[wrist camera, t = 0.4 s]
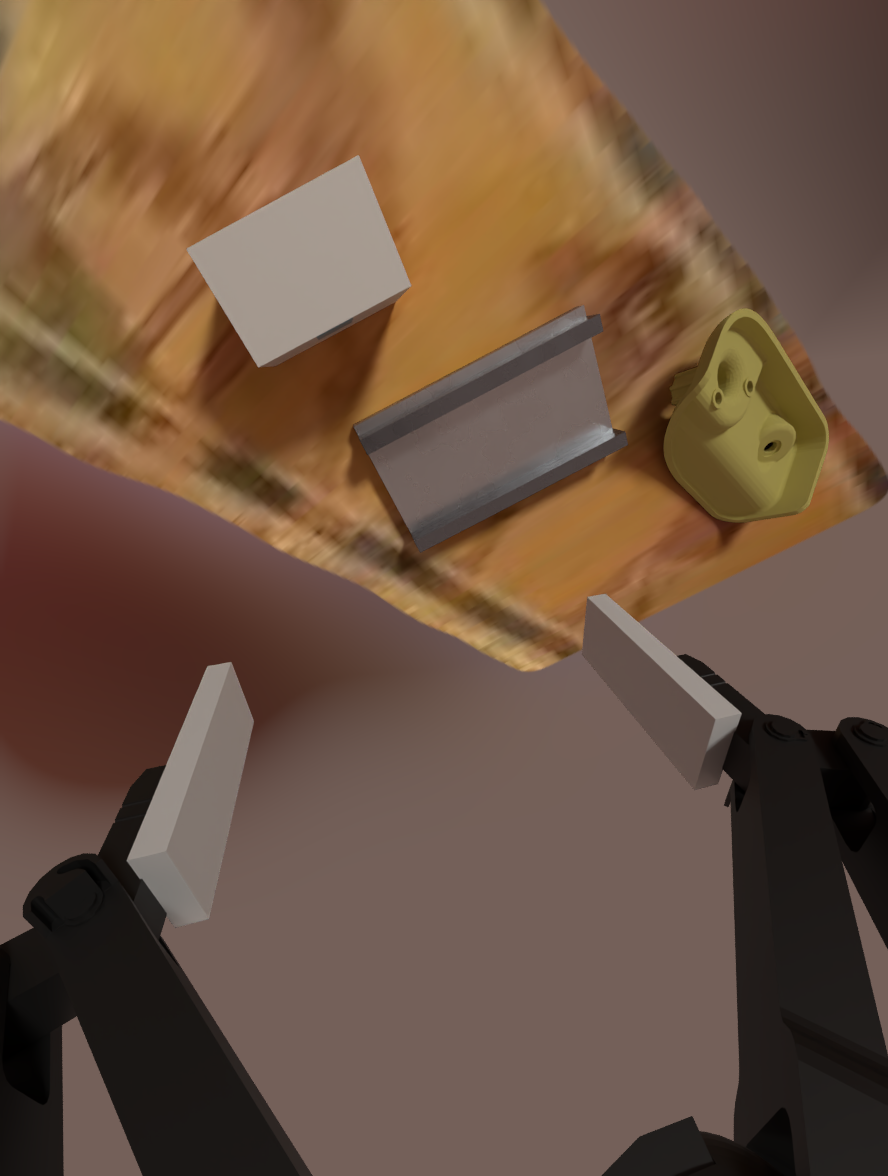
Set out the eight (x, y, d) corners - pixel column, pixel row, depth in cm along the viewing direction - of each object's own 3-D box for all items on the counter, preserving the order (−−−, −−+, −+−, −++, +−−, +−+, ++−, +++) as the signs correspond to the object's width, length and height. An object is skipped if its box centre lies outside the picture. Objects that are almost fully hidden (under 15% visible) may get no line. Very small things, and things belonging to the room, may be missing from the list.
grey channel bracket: (353, 424, 35) (354, 430, 32) (576, 306, 35) (597, 301, 32) (418, 546, 41) (424, 560, 38) (609, 447, 41) (629, 453, 38)
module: (221, 274, 30) (185, 247, 23) (353, 203, 29) (358, 153, 22) (275, 367, 33) (258, 368, 26) (395, 302, 32) (411, 286, 25)
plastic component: (833, 431, 43) (803, 523, 41) (750, 445, 49) (721, 526, 48) (740, 279, 33) (698, 393, 32) (652, 321, 39) (613, 418, 38)
